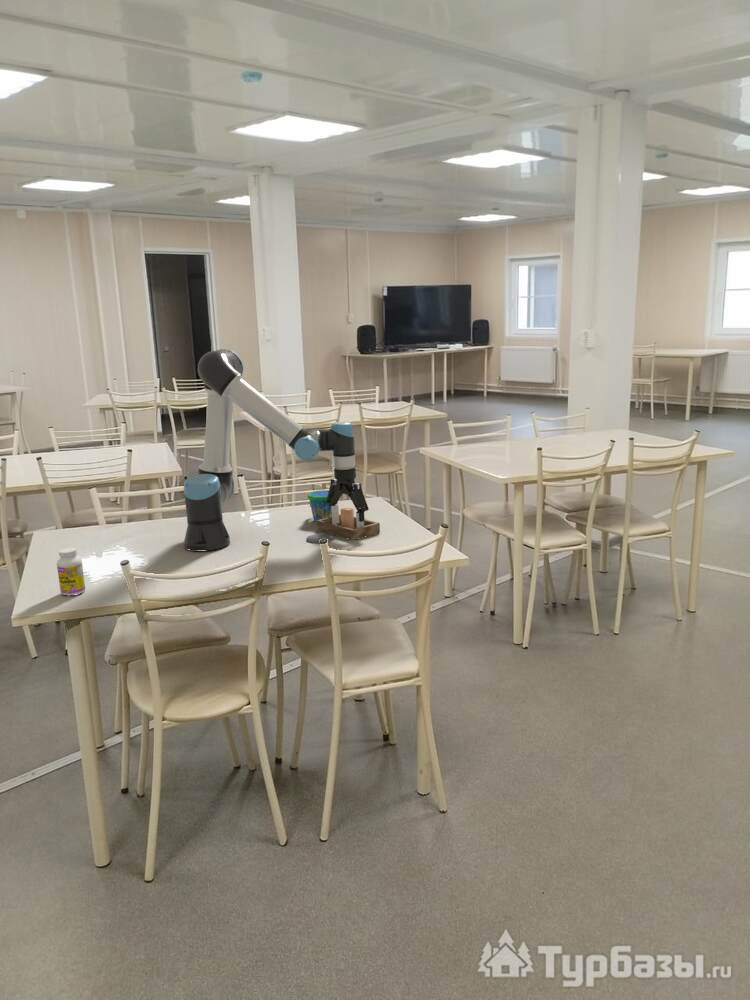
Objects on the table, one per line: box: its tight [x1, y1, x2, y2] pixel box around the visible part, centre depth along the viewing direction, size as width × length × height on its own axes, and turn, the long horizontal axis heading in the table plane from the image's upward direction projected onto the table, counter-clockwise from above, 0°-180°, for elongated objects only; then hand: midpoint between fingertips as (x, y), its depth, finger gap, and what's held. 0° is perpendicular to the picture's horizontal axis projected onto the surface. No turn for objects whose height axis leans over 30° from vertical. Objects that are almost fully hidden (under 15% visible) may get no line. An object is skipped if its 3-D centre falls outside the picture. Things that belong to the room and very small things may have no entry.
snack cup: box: [307, 489, 332, 522], centre depth 284 cm, size 16×10×10 cm
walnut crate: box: [316, 513, 381, 541], centre depth 269 cm, size 12×20×4 cm, turn 42°
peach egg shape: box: [339, 507, 356, 529], centre depth 268 cm, size 5×5×8 cm
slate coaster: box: [306, 533, 334, 544], centre depth 261 cm, size 9×9×1 cm
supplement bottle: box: [56, 547, 86, 596], centre depth 218 cm, size 7×7×13 cm
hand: (348, 526), depth 269 cm, fingers open, 13 cm apart
